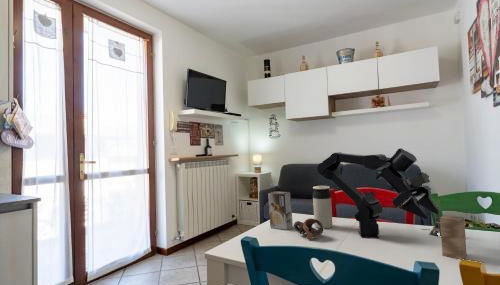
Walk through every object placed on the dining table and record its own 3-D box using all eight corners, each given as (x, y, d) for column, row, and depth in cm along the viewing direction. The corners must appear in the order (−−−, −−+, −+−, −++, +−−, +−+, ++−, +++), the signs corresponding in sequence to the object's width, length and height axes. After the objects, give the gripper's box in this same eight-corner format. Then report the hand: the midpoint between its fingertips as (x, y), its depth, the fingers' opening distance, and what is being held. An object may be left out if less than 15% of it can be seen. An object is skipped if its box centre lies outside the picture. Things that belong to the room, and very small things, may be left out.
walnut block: (442, 255, 88) (439, 217, 88) (448, 251, 91) (445, 214, 91) (461, 260, 84) (458, 220, 84) (466, 255, 87) (464, 217, 87)
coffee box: (293, 226, 129) (291, 191, 129) (287, 230, 123) (285, 194, 124) (276, 224, 134) (274, 191, 134) (269, 227, 129) (267, 193, 129)
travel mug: (334, 228, 122) (332, 187, 123) (316, 229, 123) (314, 188, 123) (329, 223, 130) (327, 185, 131) (312, 224, 130) (310, 186, 131)
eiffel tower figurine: (465, 243, 99) (462, 206, 99) (433, 242, 101) (430, 205, 102) (447, 231, 113) (445, 198, 113) (419, 230, 116) (417, 198, 116)
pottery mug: (322, 234, 117) (325, 219, 114) (319, 251, 110) (323, 236, 106) (294, 225, 121) (296, 211, 117) (289, 241, 113) (292, 227, 109)
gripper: (399, 167, 91) (440, 205, 82) (423, 163, 103) (461, 196, 93) (377, 189, 97) (413, 226, 88) (402, 183, 109) (436, 216, 100)
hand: (432, 215), depth 92 cm, fingers open, 9 cm apart
